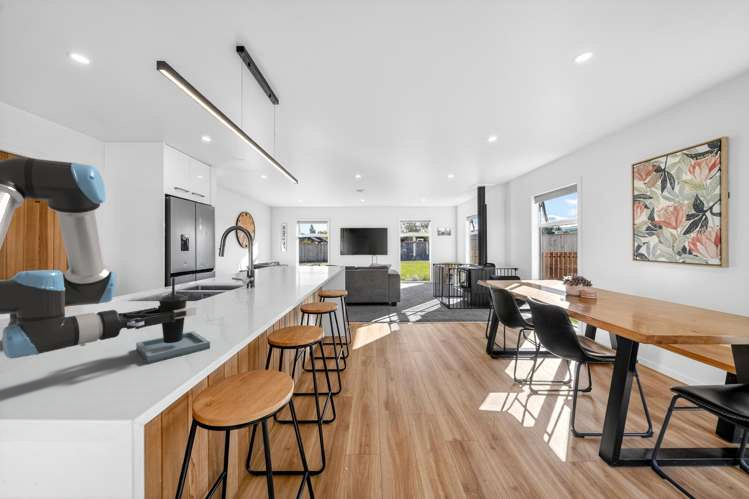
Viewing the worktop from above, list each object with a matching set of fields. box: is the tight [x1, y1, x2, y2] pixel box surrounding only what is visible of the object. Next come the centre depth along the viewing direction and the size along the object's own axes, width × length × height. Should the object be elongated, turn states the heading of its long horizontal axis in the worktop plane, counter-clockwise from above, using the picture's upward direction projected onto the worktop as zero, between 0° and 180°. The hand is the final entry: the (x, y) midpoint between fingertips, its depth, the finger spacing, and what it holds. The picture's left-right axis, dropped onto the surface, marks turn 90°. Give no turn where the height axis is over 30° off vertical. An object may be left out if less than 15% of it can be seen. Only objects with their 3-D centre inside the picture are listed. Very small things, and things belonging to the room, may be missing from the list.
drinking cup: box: [157, 277, 189, 343], centre depth 92 cm, size 8×8×20 cm
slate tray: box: [135, 330, 211, 365], centre depth 93 cm, size 16×16×2 cm
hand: (190, 309), depth 97 cm, fingers closed on drinking cup, 6 cm apart
